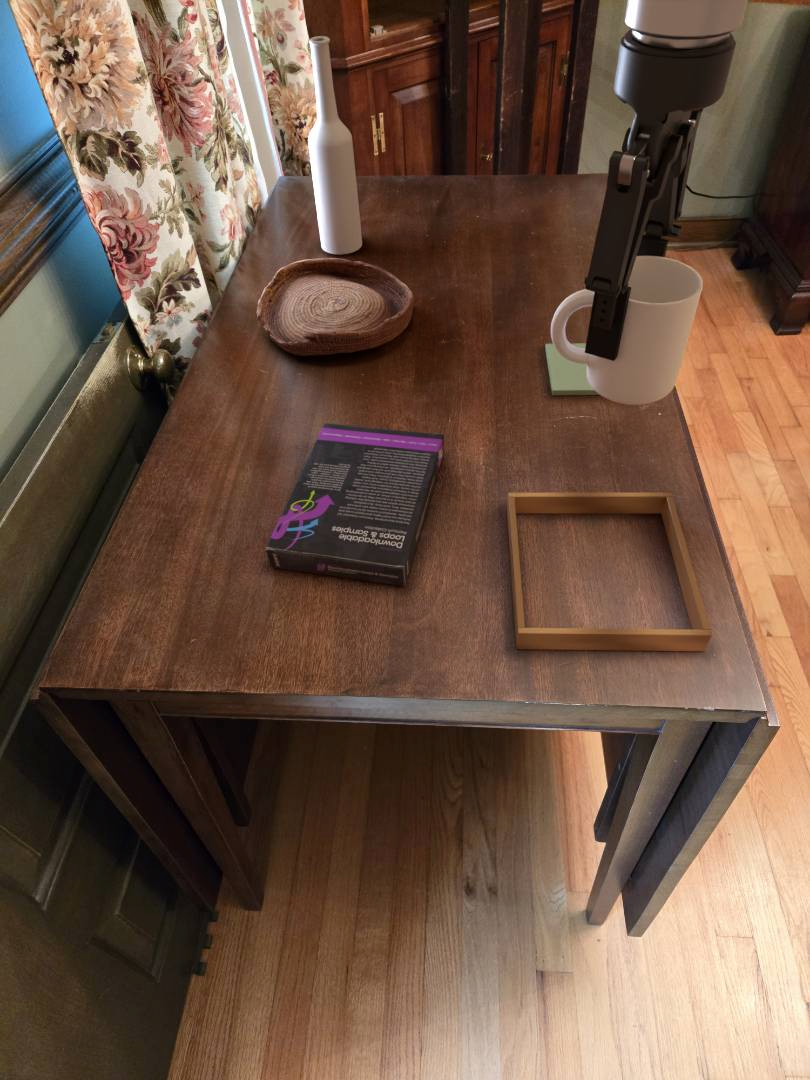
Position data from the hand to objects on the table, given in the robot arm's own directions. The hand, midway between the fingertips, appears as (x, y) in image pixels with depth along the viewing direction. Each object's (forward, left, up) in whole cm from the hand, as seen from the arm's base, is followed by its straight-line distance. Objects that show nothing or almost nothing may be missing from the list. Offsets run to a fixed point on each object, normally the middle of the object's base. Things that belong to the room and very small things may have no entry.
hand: (619, 329), depth 66 cm
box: (+18, +17, -18) cm, 31 cm away
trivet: (+8, -17, -18) cm, 26 cm away
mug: (0, +1, -5) cm, 5 cm away
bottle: (+55, -30, -18) cm, 65 cm away
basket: (+42, -11, -18) cm, 47 cm away
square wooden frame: (-6, +13, -18) cm, 23 cm away
